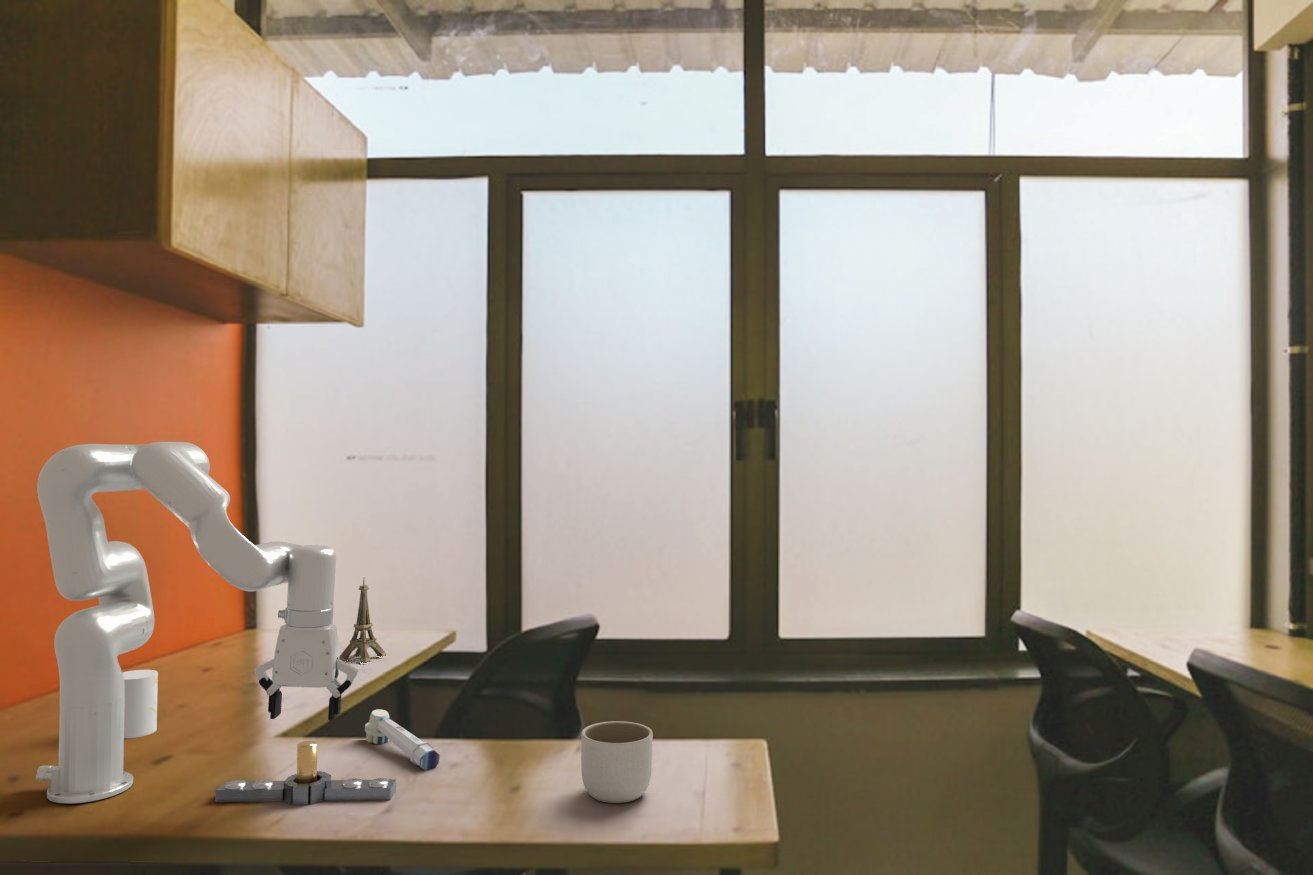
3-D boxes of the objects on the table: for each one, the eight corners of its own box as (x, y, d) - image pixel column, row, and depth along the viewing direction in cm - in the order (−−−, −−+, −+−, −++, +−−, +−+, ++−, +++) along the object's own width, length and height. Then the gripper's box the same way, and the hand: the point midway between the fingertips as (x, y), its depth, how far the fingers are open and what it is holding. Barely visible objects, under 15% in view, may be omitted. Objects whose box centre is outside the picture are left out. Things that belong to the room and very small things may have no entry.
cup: (162, 732, 184) (163, 674, 184) (118, 741, 178) (119, 681, 178) (149, 723, 190) (150, 667, 190) (106, 731, 184) (107, 674, 184)
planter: (658, 785, 158) (659, 724, 158) (642, 812, 146) (643, 746, 146) (592, 778, 161) (593, 718, 161) (570, 804, 149) (571, 739, 149)
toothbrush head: (418, 753, 163) (361, 704, 181) (415, 787, 163) (359, 735, 182) (444, 746, 166) (385, 700, 184) (441, 780, 167) (383, 730, 185)
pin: (293, 800, 149) (294, 747, 150) (300, 792, 153) (300, 740, 153) (312, 800, 150) (313, 746, 150) (318, 792, 153) (319, 740, 153)
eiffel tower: (359, 653, 257) (360, 567, 257) (389, 656, 253) (391, 569, 253) (334, 661, 247) (336, 572, 247) (366, 665, 243) (367, 574, 243)
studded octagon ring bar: (211, 805, 147) (211, 787, 147) (229, 789, 154) (229, 772, 154) (388, 803, 148) (388, 785, 149) (397, 787, 156) (398, 770, 156)
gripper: (249, 620, 147) (243, 722, 147) (354, 624, 148) (349, 725, 148) (266, 612, 155) (261, 709, 155) (366, 615, 156) (361, 712, 156)
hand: (304, 717), depth 151 cm, fingers open, 9 cm apart
